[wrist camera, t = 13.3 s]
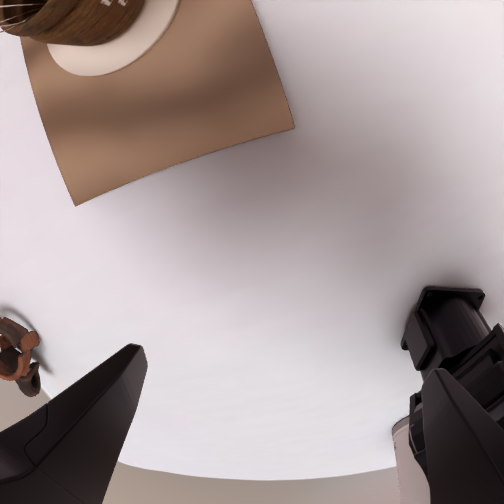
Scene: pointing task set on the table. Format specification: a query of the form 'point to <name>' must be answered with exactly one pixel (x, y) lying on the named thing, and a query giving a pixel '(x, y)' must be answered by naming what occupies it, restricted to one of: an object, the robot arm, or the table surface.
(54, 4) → the utensil holder
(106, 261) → the table surface
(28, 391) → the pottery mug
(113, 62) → the walnut board
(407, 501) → the travel mug
